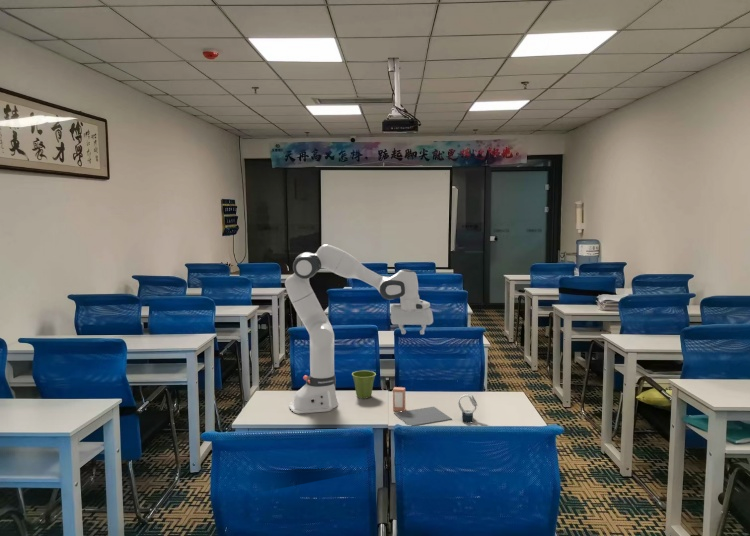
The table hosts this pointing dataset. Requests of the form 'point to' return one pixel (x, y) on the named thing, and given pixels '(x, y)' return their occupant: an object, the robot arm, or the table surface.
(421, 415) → the mat
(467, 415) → the watch
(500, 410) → the table surface
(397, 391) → the block
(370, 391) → the plant pot
